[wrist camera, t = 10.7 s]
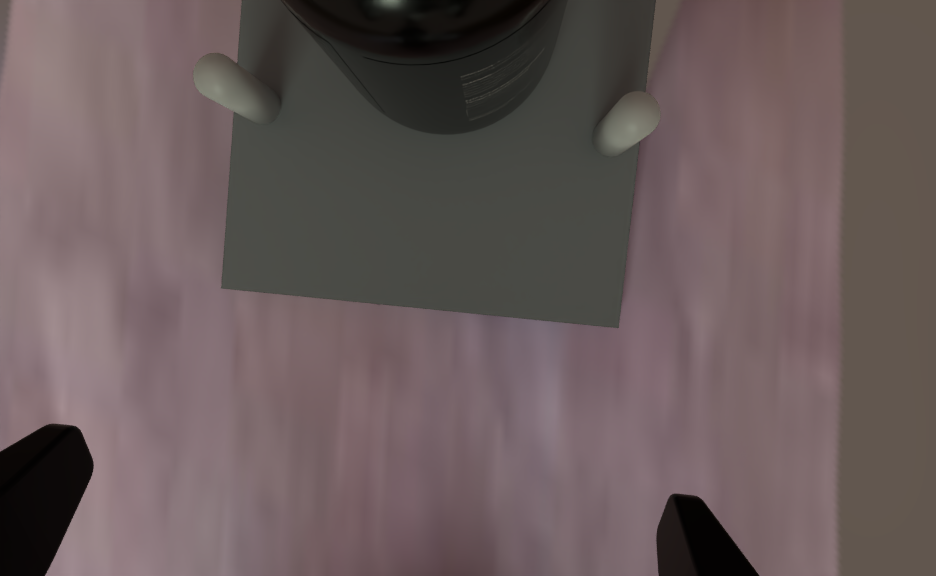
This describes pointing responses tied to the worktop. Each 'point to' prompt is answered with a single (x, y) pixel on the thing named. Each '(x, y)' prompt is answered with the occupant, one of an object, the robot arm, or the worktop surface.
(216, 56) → the pin tray
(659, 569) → the robot arm
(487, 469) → the worktop surface
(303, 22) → the supplement bottle
